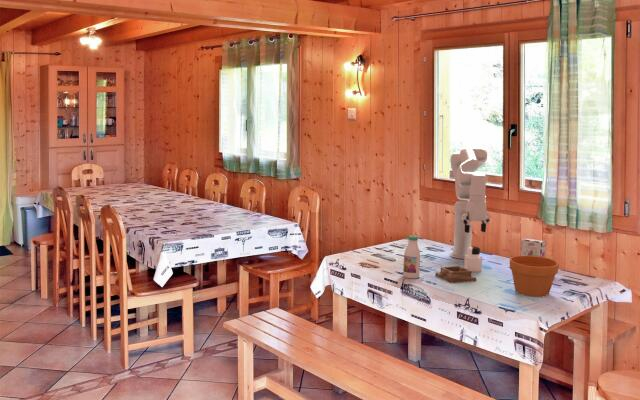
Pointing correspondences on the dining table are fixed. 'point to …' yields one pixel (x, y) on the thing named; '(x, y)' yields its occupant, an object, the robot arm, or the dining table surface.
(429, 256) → the dining table surface
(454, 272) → the bottle stand
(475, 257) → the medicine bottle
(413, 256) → the milk bottle
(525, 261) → the flower pot
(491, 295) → the dining table surface
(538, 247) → the candy bar box
